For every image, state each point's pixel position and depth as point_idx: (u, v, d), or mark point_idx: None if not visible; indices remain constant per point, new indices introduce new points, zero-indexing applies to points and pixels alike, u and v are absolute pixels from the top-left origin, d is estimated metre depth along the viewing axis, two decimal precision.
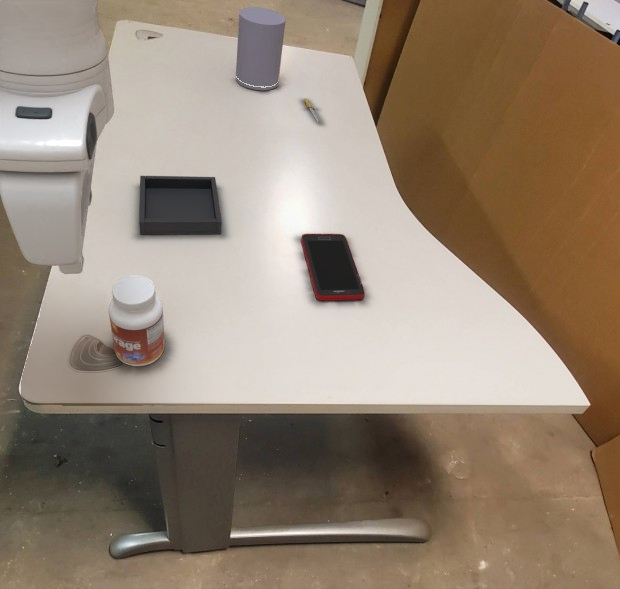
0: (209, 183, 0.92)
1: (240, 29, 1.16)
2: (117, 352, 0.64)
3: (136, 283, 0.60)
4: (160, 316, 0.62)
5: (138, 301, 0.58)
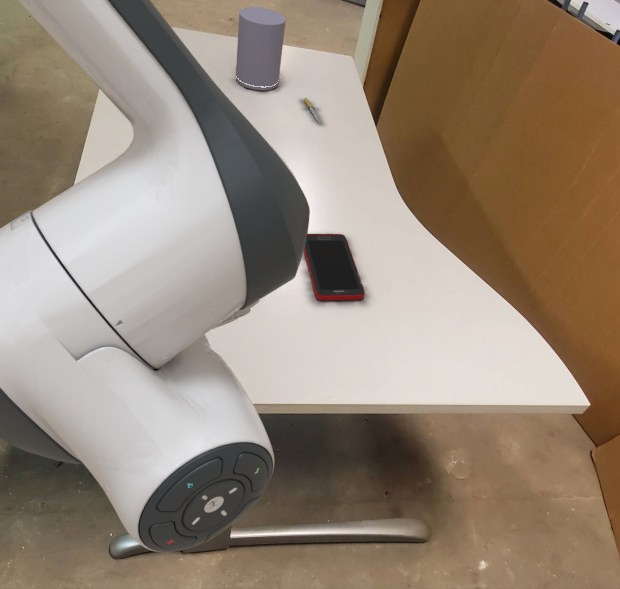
0: None
1: (240, 29, 1.16)
2: None
3: None
4: None
5: None
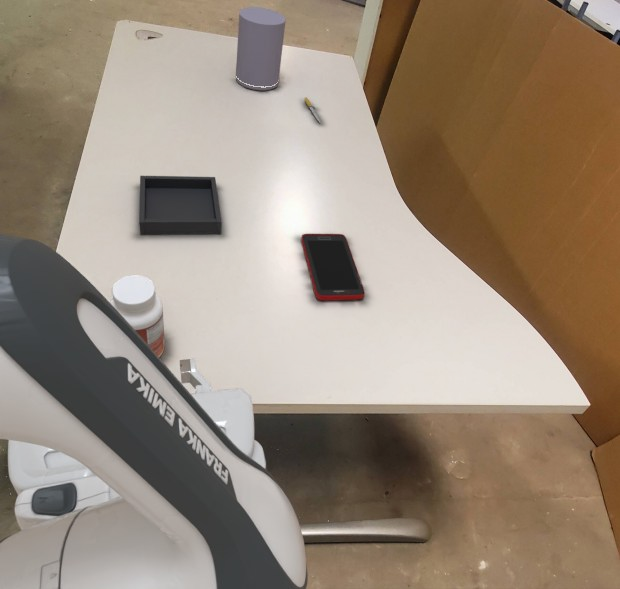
0: (209, 183, 0.92)
1: (240, 29, 1.16)
2: None
3: (136, 283, 0.60)
4: (160, 316, 0.62)
5: (138, 301, 0.58)
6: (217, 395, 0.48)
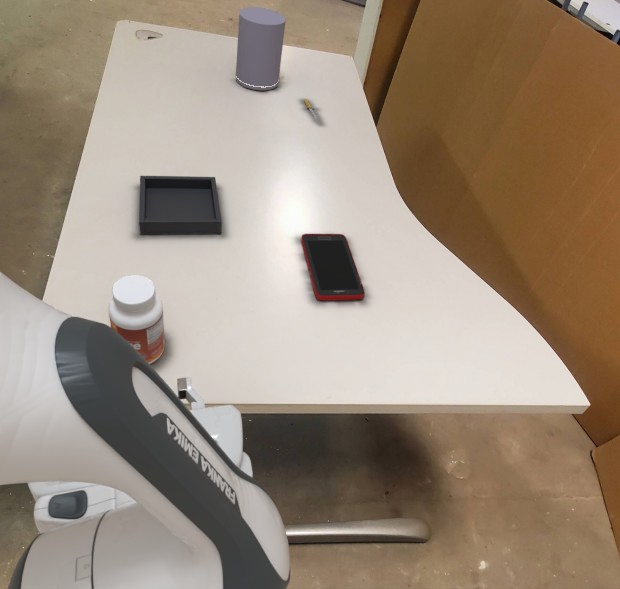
0: (209, 183, 0.92)
1: (240, 29, 1.16)
2: None
3: (136, 283, 0.60)
4: (160, 316, 0.62)
5: (138, 301, 0.58)
6: (210, 411, 0.54)
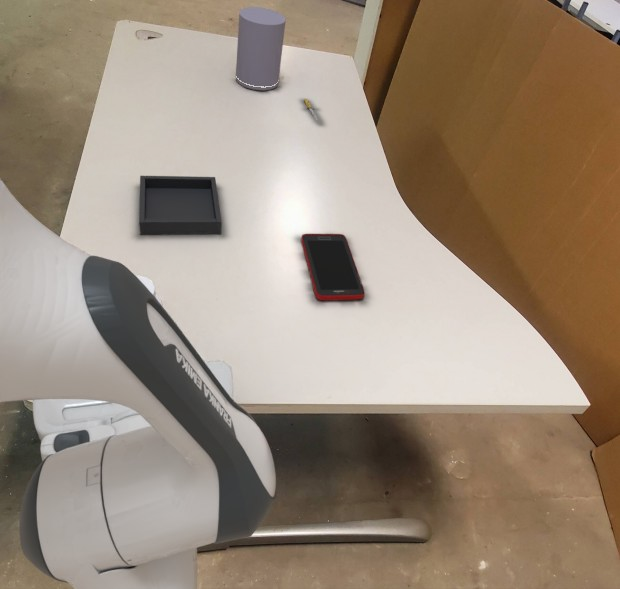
0: (209, 183, 0.92)
1: (240, 29, 1.16)
2: None
3: None
4: None
5: None
6: None
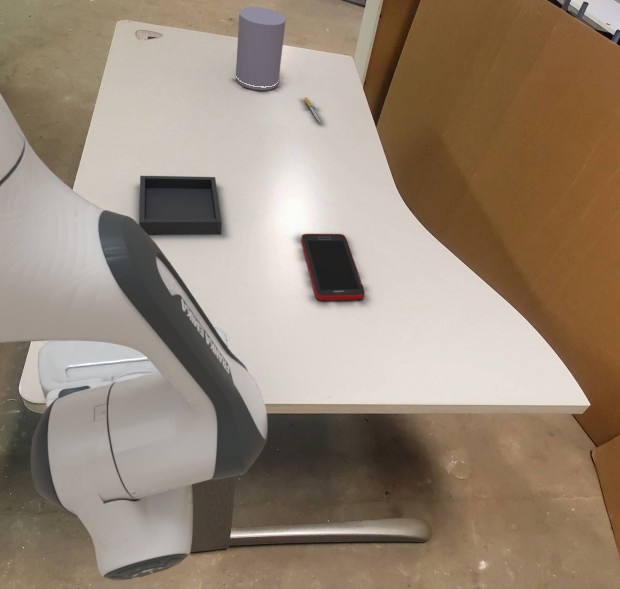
0: (209, 183, 0.92)
1: (240, 29, 1.16)
2: None
3: None
4: None
5: None
6: None
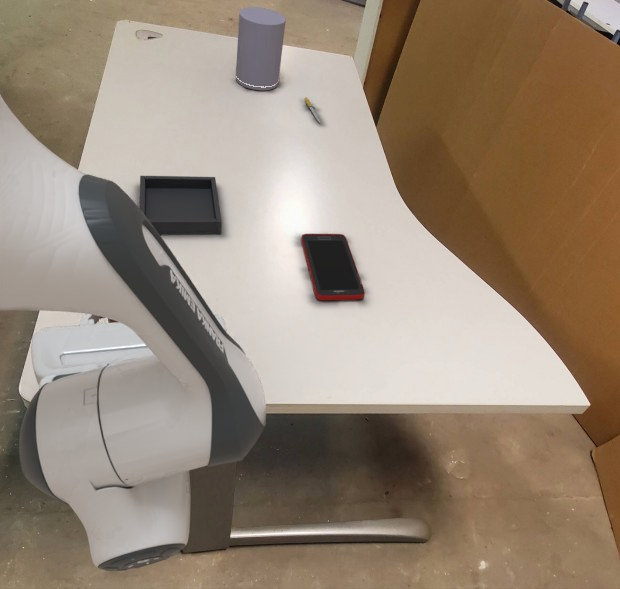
0: (209, 183, 0.92)
1: (240, 29, 1.16)
2: None
3: None
4: None
5: None
6: None
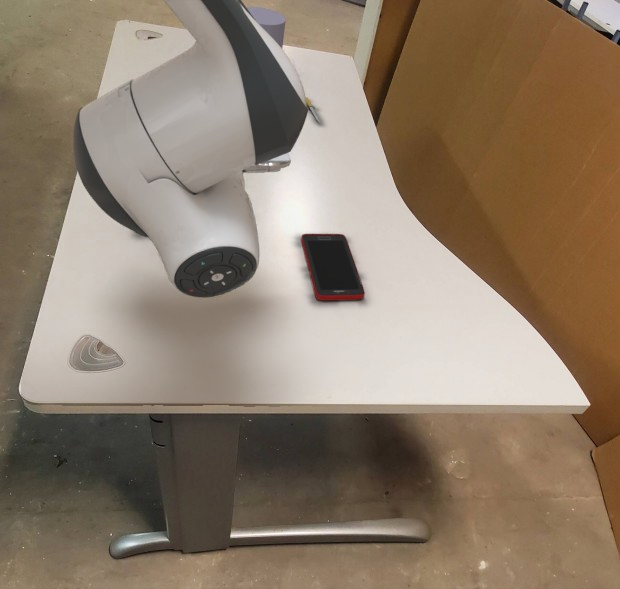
0: None
1: None
2: None
3: None
4: None
5: None
6: None
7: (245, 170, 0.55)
